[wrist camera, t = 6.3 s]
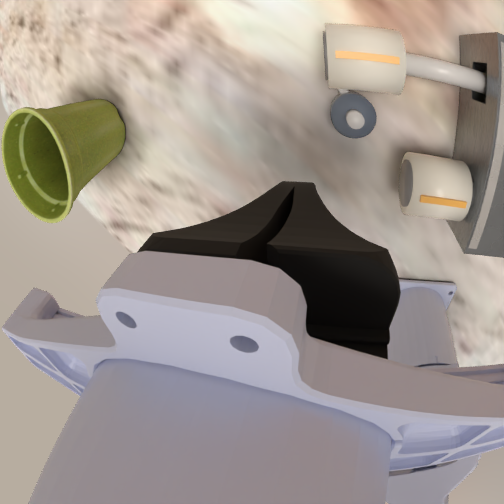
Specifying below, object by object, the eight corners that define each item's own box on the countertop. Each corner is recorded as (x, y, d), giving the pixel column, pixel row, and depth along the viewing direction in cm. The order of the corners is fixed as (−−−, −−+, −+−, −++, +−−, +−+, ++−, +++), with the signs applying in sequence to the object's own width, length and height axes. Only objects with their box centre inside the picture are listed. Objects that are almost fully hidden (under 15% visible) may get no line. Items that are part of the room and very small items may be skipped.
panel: (488, 219, 18) (515, 259, 14) (441, 212, 19) (464, 254, 15) (512, 56, 9) (556, 63, 5) (459, 35, 11) (498, 32, 6)
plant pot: (134, 189, 25) (74, 242, 18) (67, 160, 25) (7, 200, 18) (151, 93, 19) (72, 122, 12) (73, 76, 19) (-2, 101, 12)
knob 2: (505, 213, 16) (528, 243, 13) (394, 197, 19) (406, 228, 15) (517, 168, 14) (545, 193, 10) (401, 144, 16) (417, 165, 13)
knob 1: (475, 109, 13) (505, 123, 10) (326, 86, 15) (325, 91, 12) (476, 55, 10) (508, 57, 7) (322, 28, 13) (321, 17, 10)
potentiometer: (376, 125, 17) (386, 137, 14) (338, 135, 18) (340, 149, 15) (359, 76, 15) (366, 78, 12) (320, 87, 16) (318, 91, 14)
